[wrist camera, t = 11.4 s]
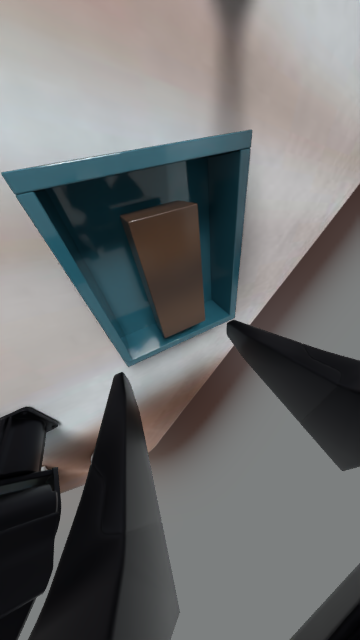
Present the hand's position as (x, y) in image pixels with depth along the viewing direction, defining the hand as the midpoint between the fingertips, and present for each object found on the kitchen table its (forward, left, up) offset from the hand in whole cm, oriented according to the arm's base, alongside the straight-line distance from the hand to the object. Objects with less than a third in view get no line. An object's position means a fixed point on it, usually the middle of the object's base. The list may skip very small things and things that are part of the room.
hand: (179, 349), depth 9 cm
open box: (0, -3, -11) cm, 11 cm away
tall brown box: (0, -2, -11) cm, 11 cm away
